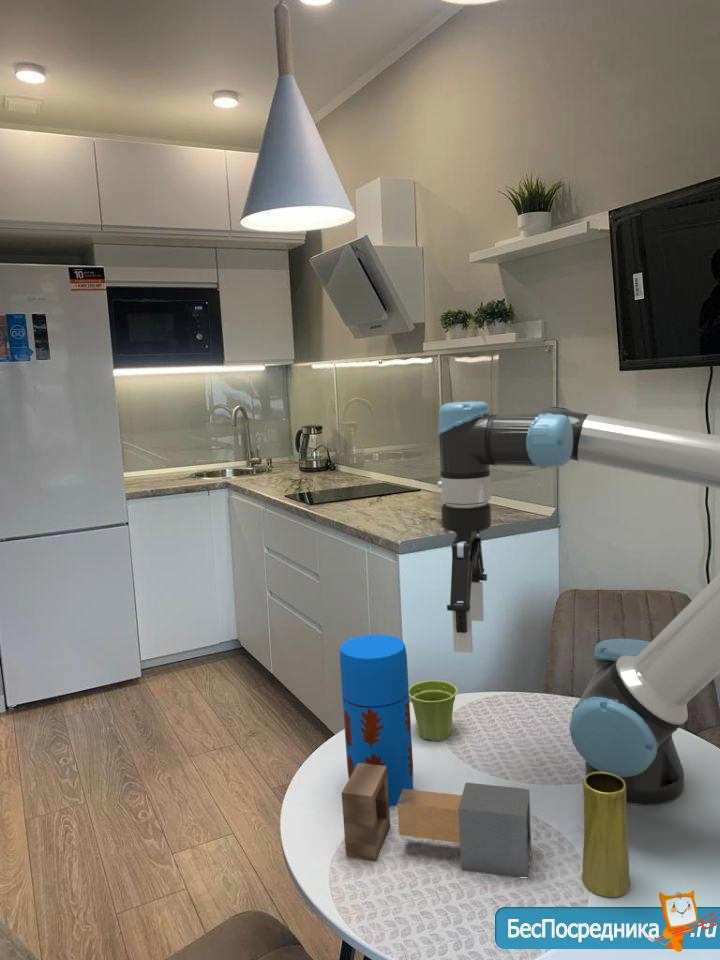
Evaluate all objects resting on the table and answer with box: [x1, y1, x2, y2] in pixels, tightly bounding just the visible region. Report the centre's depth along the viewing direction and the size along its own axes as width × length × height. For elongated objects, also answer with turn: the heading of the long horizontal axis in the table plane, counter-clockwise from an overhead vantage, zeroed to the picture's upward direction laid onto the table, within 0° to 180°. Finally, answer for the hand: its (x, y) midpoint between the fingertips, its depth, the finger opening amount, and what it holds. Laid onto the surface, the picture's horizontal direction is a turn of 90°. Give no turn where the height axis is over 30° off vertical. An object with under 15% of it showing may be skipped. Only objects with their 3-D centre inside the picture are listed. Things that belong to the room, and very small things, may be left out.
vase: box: [581, 771, 632, 898], centre depth 95 cm, size 6×6×14 cm
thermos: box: [339, 633, 414, 808], centre depth 119 cm, size 11×11×25 cm
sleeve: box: [458, 782, 532, 878], centre depth 101 cm, size 9×6×9 cm
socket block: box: [341, 763, 391, 862], centre depth 107 cm, size 4×8×10 cm, turn 163°
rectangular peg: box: [396, 789, 528, 844], centre depth 102 cm, size 18×4×5 cm, turn 73°
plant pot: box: [408, 679, 458, 742], centre depth 137 cm, size 9×9×9 cm
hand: (469, 634), depth 115 cm, fingers open, 13 cm apart
